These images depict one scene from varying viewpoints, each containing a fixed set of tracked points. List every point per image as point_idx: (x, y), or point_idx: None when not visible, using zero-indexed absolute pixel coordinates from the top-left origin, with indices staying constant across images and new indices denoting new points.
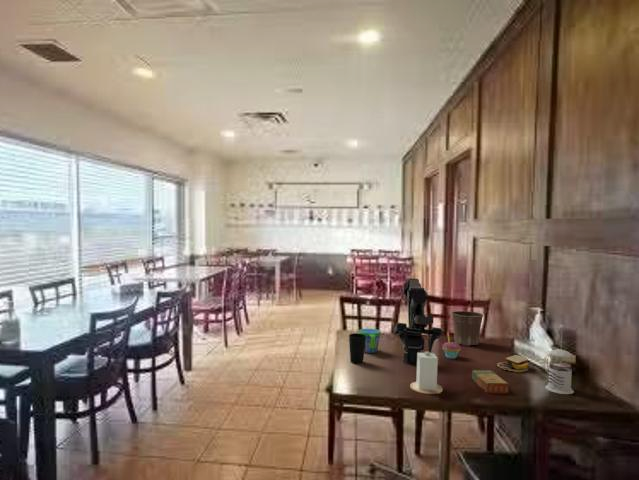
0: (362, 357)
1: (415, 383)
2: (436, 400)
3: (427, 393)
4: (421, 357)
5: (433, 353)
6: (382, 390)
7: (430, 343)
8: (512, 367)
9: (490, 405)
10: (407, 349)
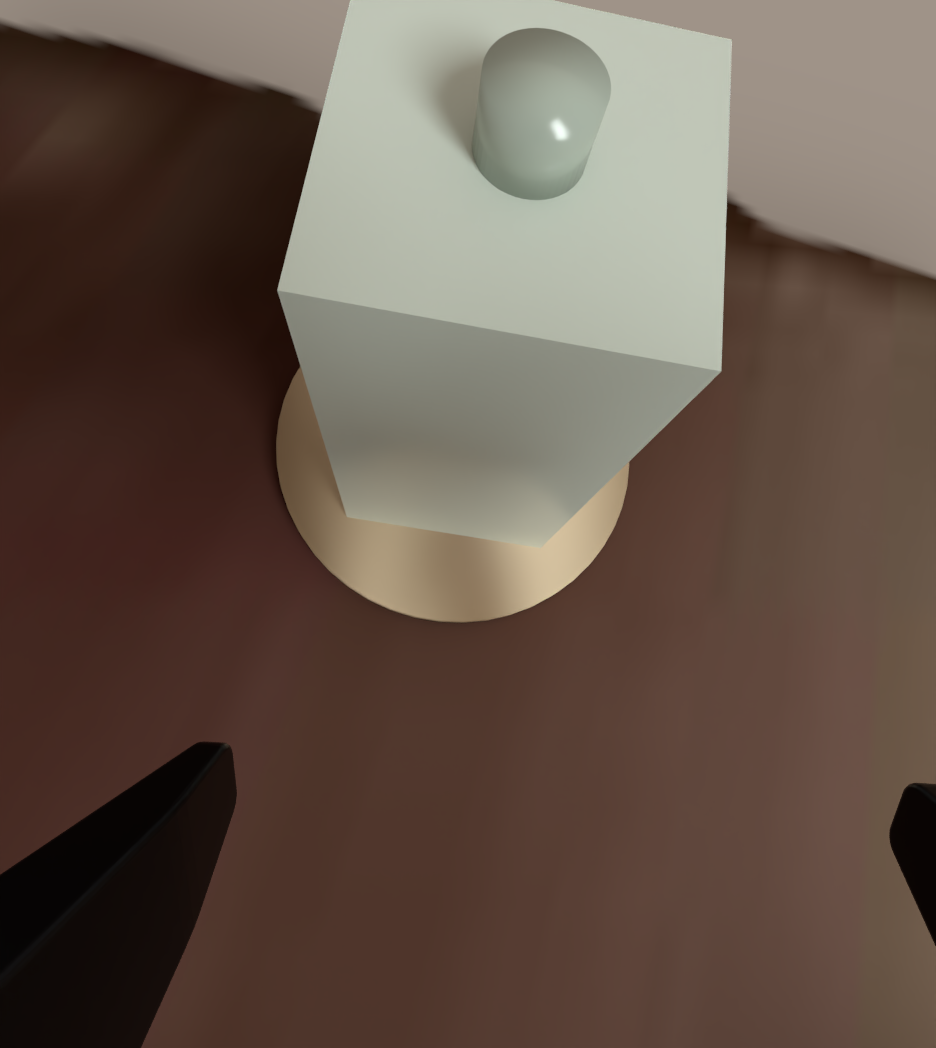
0: None
1: (549, 550)
2: None
3: None
4: (703, 35)
5: (307, 267)
6: (900, 422)
7: (26, 960)
8: None
9: (18, 31)
10: (908, 792)
